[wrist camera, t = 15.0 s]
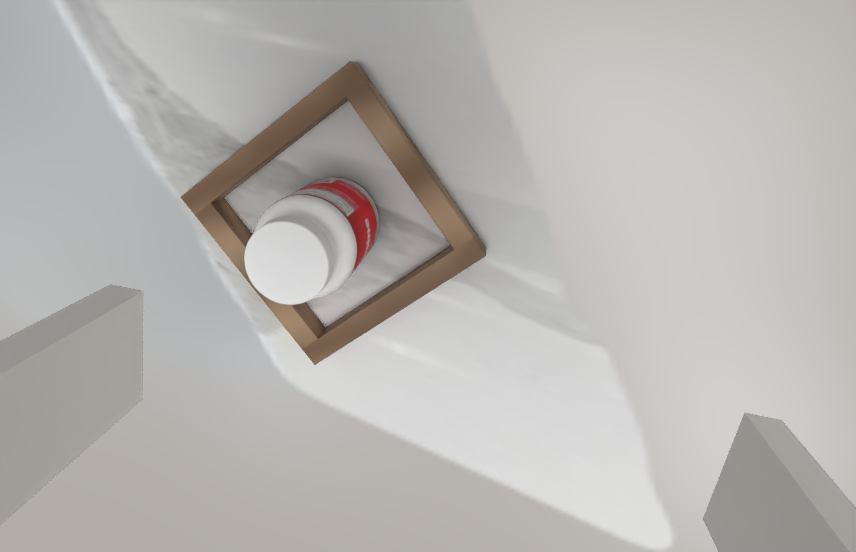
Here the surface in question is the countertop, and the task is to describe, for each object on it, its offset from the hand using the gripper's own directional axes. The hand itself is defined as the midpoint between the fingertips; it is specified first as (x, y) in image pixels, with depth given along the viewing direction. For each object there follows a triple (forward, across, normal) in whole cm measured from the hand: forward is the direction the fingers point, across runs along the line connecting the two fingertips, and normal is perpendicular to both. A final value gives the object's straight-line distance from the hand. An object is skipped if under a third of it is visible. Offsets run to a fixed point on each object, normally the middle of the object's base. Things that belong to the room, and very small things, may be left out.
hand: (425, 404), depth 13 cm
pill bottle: (+29, -9, -4) cm, 31 cm away
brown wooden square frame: (+29, -9, -4) cm, 30 cm away
